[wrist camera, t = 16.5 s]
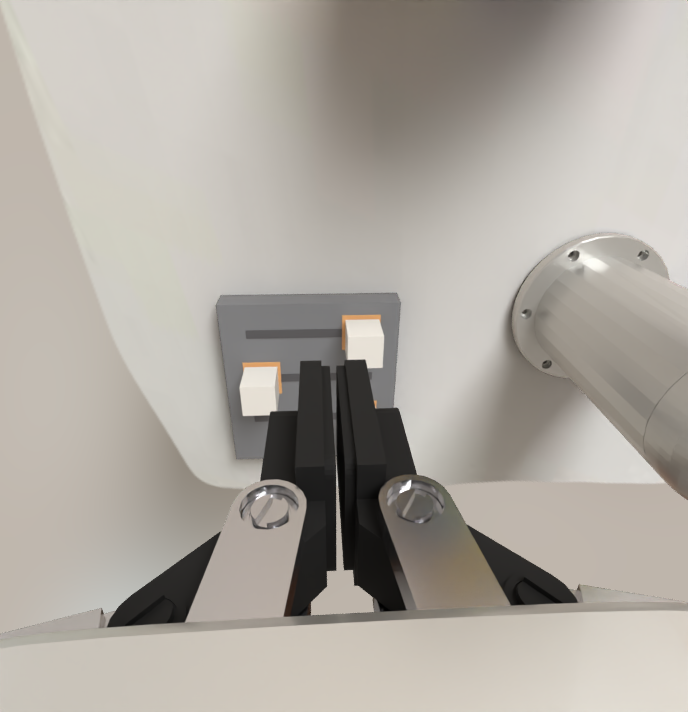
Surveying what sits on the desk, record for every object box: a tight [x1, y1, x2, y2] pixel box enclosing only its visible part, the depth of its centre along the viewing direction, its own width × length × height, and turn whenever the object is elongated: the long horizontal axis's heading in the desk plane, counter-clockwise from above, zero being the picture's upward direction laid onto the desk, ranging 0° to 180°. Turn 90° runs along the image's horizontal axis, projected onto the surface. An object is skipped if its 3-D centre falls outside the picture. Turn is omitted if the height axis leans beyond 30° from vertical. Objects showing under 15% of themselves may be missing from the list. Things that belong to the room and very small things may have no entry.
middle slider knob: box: [239, 367, 279, 416], centre depth 37 cm, size 3×3×3 cm
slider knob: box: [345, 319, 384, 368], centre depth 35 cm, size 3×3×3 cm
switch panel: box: [216, 293, 401, 459], centre depth 40 cm, size 14×15×2 cm
